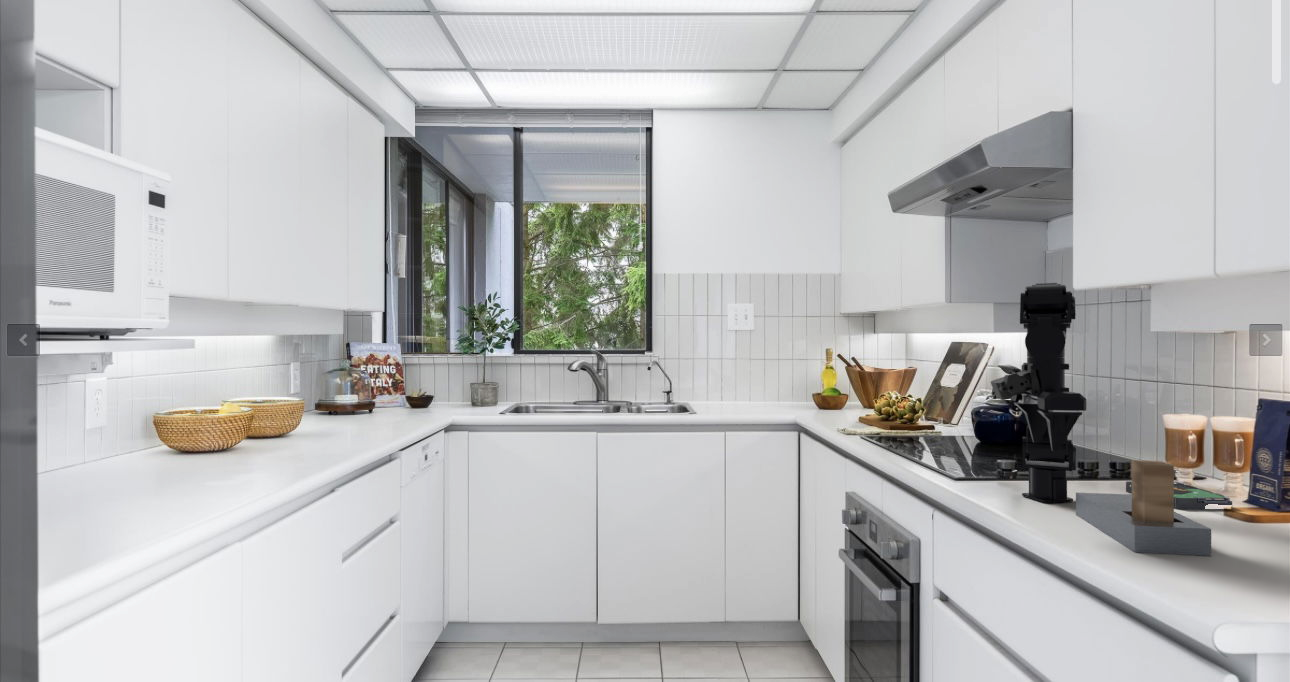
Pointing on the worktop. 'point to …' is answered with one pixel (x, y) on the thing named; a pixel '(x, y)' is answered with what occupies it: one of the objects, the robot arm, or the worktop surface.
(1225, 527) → the worktop surface
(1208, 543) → the block
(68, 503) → the worktop surface
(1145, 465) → the walnut peg
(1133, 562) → the worktop surface
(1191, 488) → the disk drive
